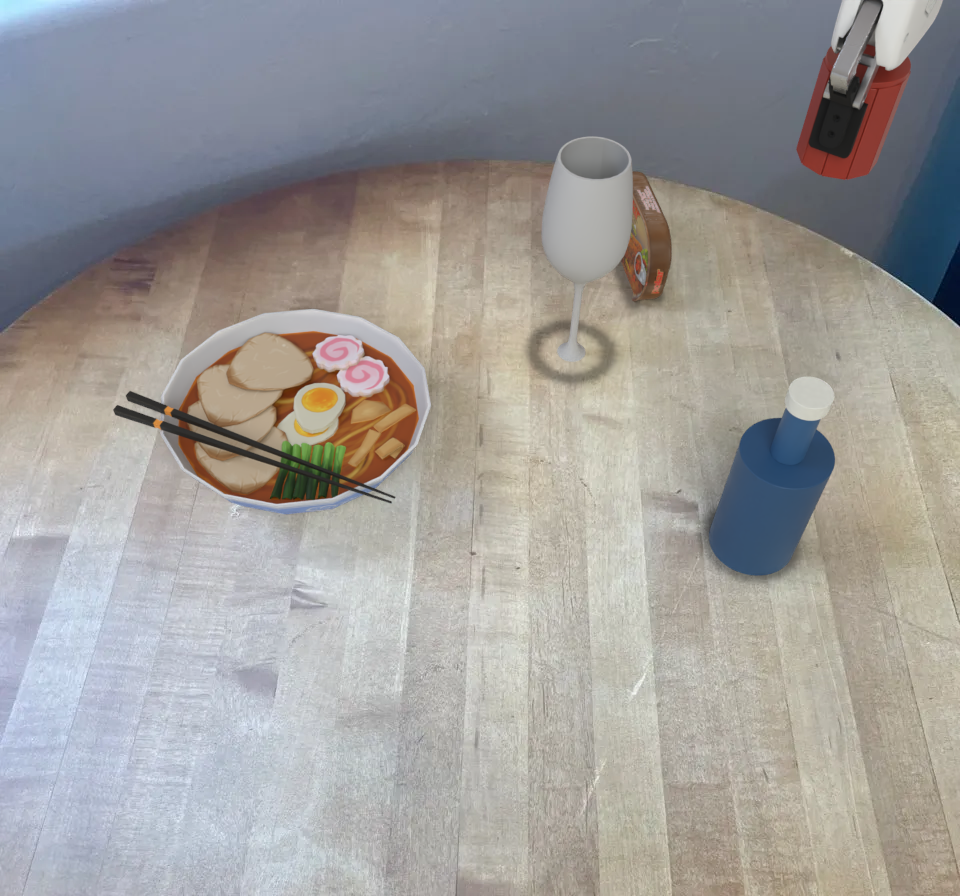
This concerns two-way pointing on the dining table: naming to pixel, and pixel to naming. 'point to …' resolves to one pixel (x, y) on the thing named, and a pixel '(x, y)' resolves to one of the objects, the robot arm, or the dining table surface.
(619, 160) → the wineglass
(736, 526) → the water bottle
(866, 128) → the red grooved cylinder
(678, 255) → the dining table surface
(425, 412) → the ramen bowl
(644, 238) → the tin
